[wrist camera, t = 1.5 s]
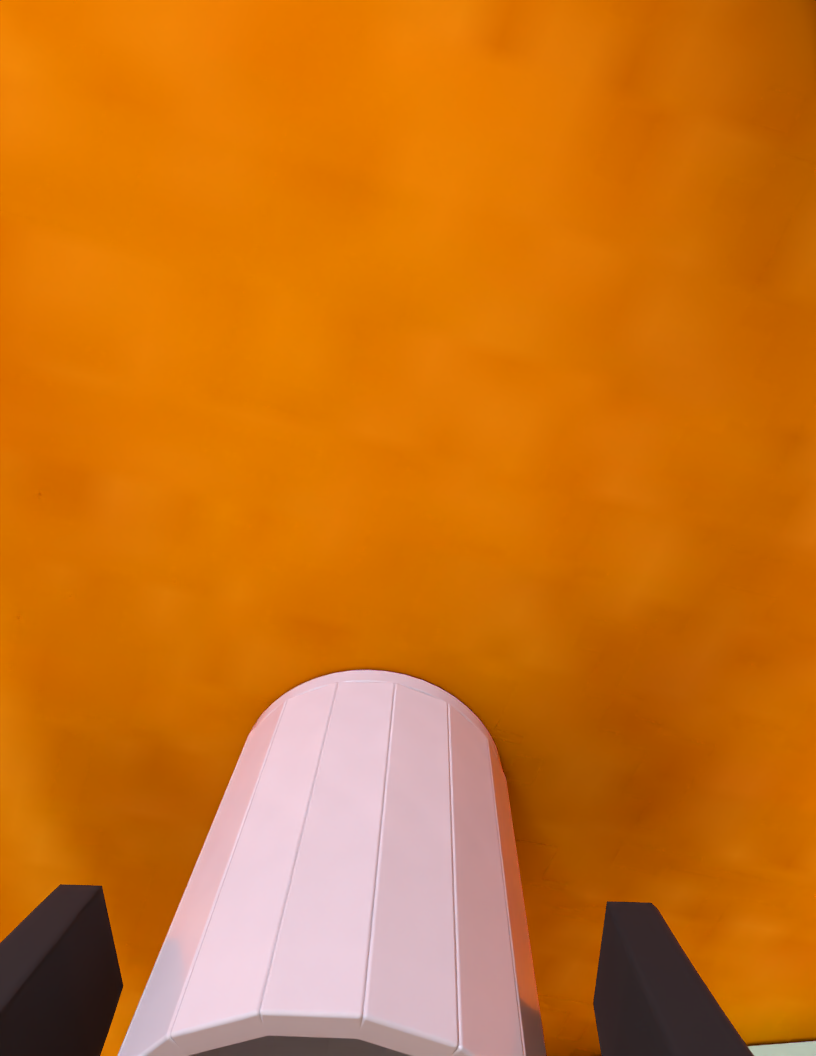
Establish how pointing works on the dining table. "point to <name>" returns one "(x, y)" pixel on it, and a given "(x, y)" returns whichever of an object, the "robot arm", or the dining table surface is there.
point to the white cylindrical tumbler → (352, 890)
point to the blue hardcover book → (785, 1049)
